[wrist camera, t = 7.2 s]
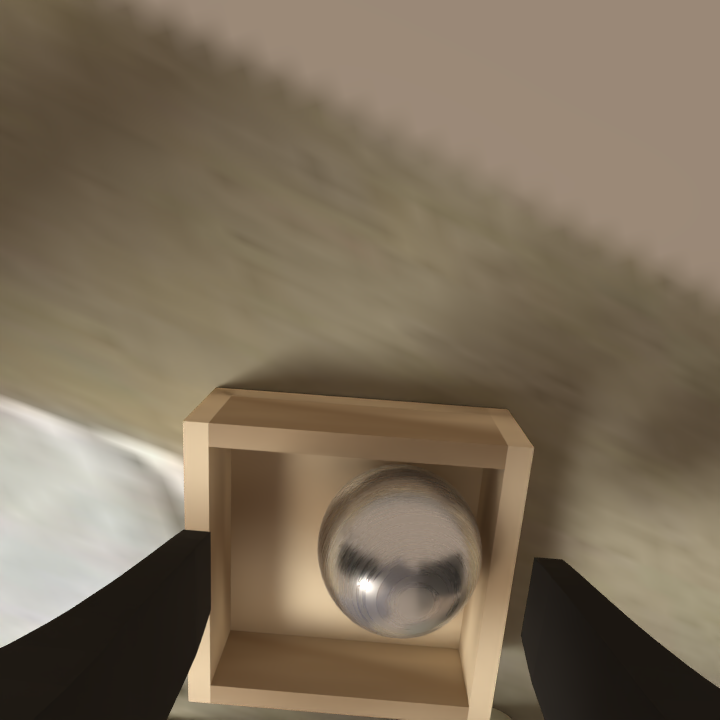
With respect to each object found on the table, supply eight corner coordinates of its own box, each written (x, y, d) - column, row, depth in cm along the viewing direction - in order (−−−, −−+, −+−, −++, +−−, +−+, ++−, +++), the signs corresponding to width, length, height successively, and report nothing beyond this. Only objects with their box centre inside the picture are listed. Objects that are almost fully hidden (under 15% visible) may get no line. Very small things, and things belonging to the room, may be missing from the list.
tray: (472, 651, 17) (488, 727, 14) (216, 630, 17) (188, 701, 14) (507, 409, 15) (534, 447, 12) (216, 387, 15) (182, 421, 12)
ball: (449, 560, 16) (500, 672, 12) (314, 570, 15) (322, 689, 11) (457, 436, 15) (516, 513, 11) (313, 442, 14) (320, 525, 10)
